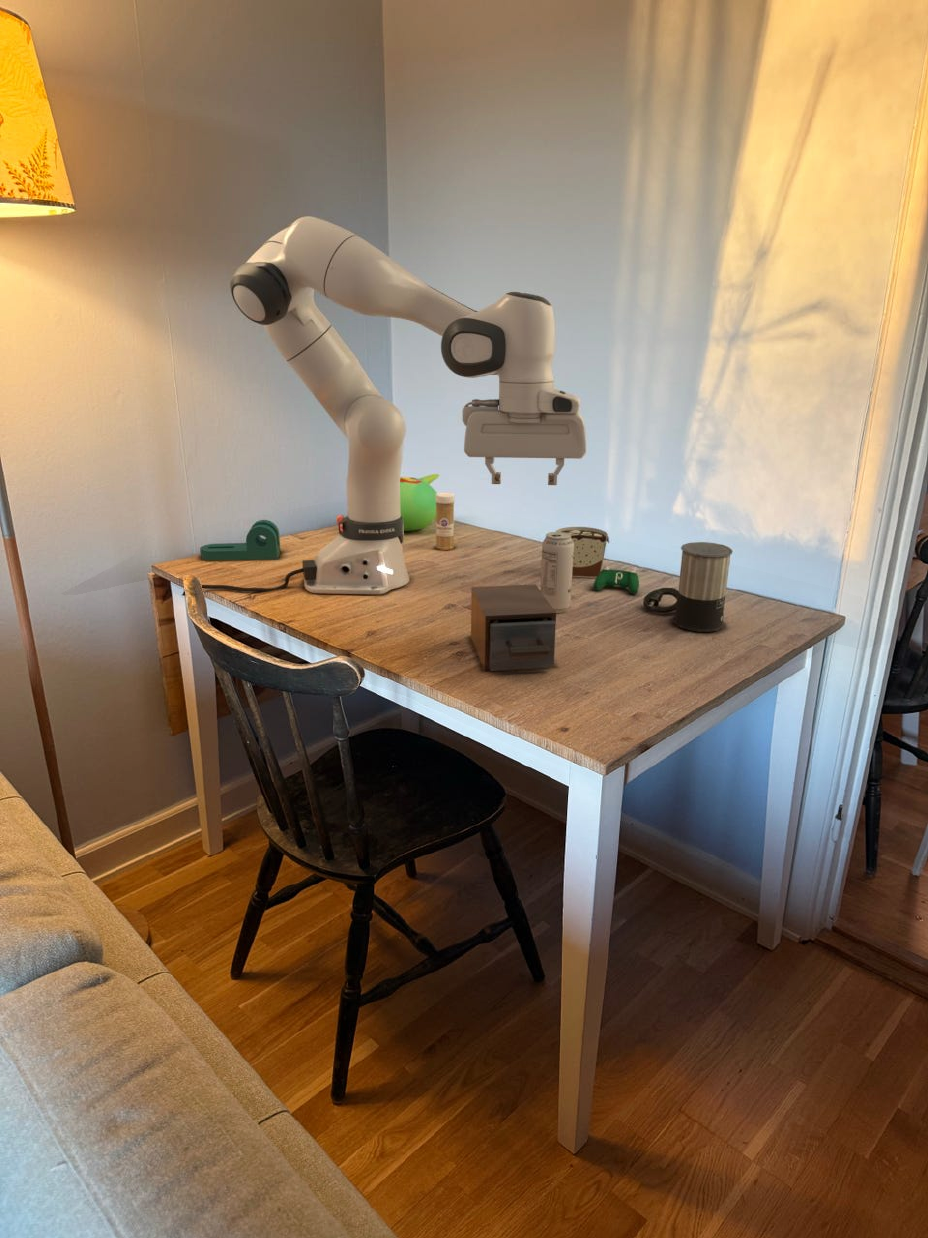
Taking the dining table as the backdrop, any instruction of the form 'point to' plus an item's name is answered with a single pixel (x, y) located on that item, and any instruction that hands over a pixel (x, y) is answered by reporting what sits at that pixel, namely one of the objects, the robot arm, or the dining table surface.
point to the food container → (587, 550)
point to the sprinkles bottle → (444, 521)
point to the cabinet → (503, 611)
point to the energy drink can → (557, 570)
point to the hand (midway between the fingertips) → (524, 484)
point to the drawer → (522, 644)
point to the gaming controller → (617, 579)
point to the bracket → (247, 545)
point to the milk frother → (697, 588)
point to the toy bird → (417, 502)
